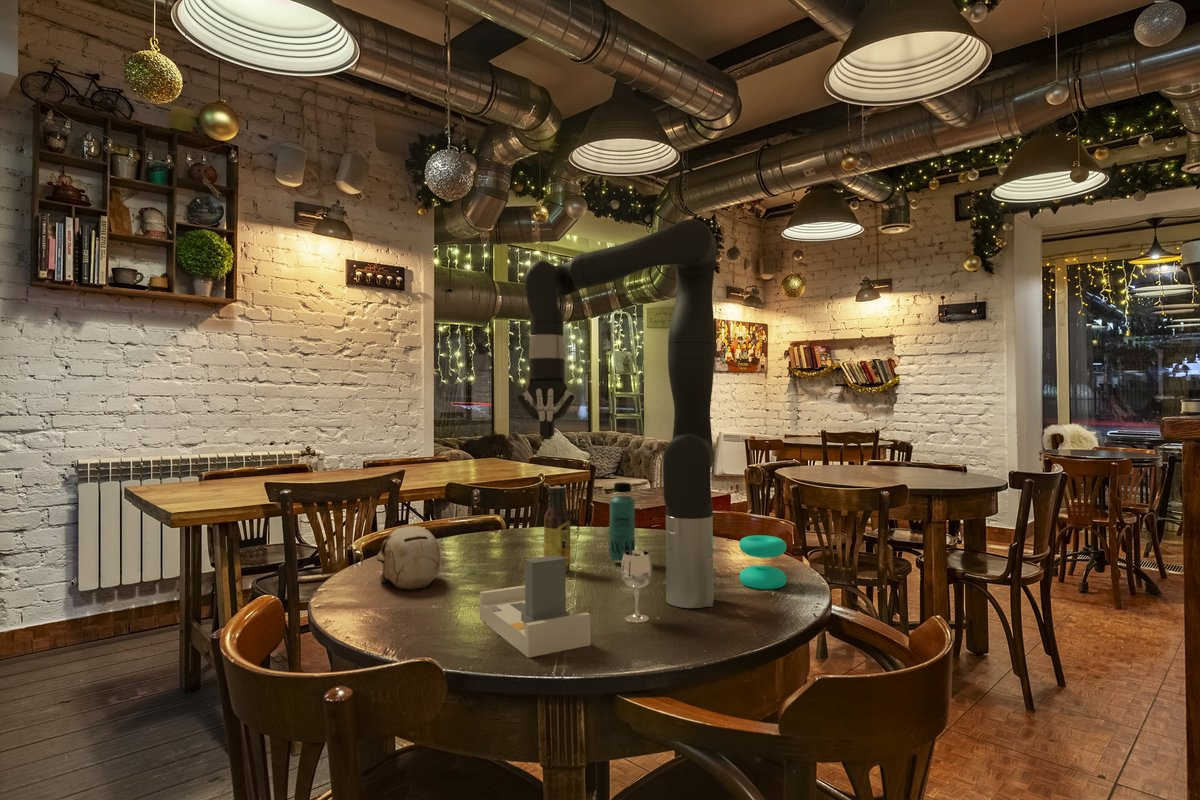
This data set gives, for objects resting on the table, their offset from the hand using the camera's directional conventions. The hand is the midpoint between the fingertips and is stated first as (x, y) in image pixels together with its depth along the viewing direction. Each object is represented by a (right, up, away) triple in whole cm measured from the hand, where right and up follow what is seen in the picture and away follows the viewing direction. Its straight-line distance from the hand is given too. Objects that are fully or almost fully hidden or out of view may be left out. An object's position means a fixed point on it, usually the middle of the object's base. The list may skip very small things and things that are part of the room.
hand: (547, 438), depth 144 cm
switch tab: (+2, -28, -31) cm, 42 cm away
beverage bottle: (+17, -32, +23) cm, 43 cm away
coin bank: (-31, -33, +7) cm, 46 cm away
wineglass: (+18, -32, -20) cm, 42 cm away
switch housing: (-1, -32, -27) cm, 41 cm away
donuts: (+47, -32, +3) cm, 57 cm away
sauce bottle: (+1, -32, +16) cm, 36 cm away
